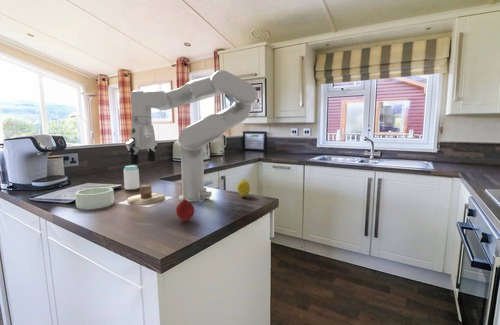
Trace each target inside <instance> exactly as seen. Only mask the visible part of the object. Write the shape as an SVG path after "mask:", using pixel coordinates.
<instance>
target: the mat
mask: <svg viewBox="0 0 500 325" xmlns="http://www.w3.org/2000/svg"><path fill="white" fill-rule="evenodd" d="M172 198H174V196H166V195H165V199H164V200H163V201H161V202H159V203H155V204H149V205H132V204H128V203H127V199H126V200H123V201H120V202H117V205H118V204H119V205H127V206H134V207H135V206H136V207H144V208H151V207H152V206H155V205H157V204H161V203H163V202H165V201H167V200H170V199H172Z"/></svg>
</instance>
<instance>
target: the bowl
mask: <svg viewBox="0 0 500 325" xmlns="http://www.w3.org/2000/svg"><path fill="white" fill-rule="evenodd" d="M114 190H115V189H114V188H112V187H108V186H107V187H106V186H105V187H104V186H103V187H102V186H100V187H98V186H97V187H91V188H84V189H80V190H77V191H75V192H74V198H75V206H76V208H77V209H78V210H95V209H102V208H106V207H109V206H110V207H111V205H114V203H115V193H114V192H115V191H114Z"/></svg>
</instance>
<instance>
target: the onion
mask: <svg viewBox="0 0 500 325" xmlns="http://www.w3.org/2000/svg"><path fill="white" fill-rule="evenodd" d="M175 214H176V216H177V217H178V218H179V219H180V220H182V221H183V222H184V223H185V222H188V221H189V220H190V219H191V218H192V217H193V215H194V214H195V207H194V205H193V204H192V202H189V201H187V200H186V199H185V198H183V201H180V202H179V203H178V205H176V209H175Z"/></svg>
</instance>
